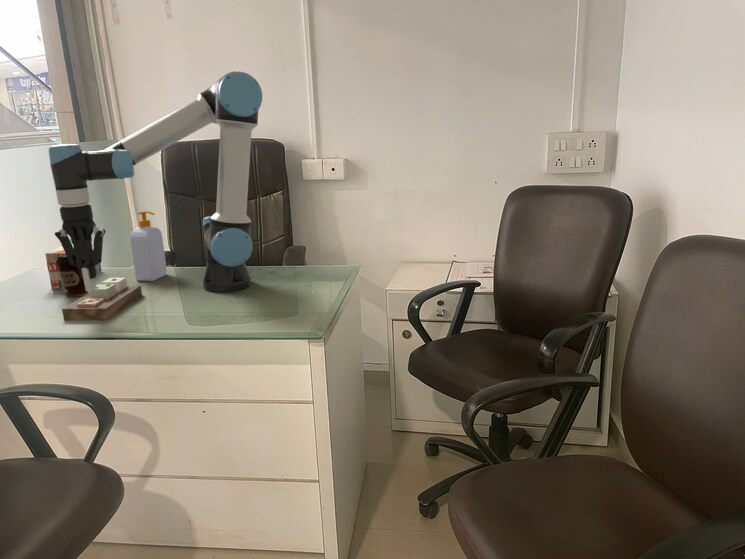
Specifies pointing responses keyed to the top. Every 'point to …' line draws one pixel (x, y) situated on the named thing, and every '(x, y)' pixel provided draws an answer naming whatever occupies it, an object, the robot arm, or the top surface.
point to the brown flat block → (102, 305)
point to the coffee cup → (71, 277)
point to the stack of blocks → (54, 268)
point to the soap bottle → (148, 251)
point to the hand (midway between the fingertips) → (91, 289)
